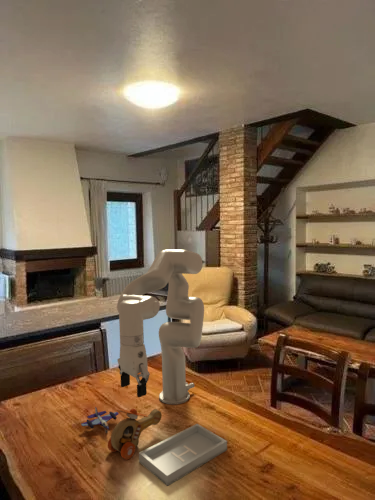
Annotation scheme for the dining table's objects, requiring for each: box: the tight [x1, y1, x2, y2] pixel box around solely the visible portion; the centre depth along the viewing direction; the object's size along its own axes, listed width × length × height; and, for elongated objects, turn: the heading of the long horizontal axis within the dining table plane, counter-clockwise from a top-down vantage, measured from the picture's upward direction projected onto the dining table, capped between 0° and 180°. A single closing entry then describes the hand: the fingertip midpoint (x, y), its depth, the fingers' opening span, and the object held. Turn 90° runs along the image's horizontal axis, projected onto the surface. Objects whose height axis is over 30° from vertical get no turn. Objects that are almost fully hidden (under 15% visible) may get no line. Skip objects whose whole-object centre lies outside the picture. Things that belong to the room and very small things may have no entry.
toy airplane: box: [81, 406, 120, 434], centre depth 134 cm, size 13×14×4 cm
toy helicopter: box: [107, 408, 163, 460], centre depth 123 cm, size 8×21×14 cm, turn 140°
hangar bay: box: [138, 423, 228, 487], centre depth 117 cm, size 24×14×3 cm, turn 131°
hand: (133, 390), depth 122 cm, fingers open, 9 cm apart
